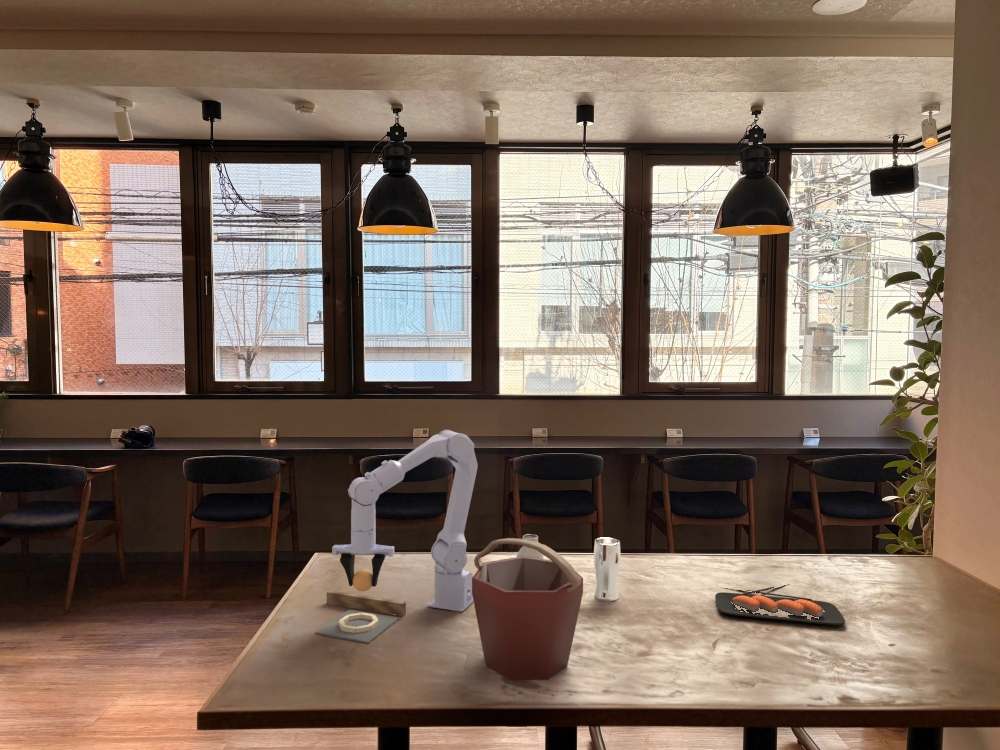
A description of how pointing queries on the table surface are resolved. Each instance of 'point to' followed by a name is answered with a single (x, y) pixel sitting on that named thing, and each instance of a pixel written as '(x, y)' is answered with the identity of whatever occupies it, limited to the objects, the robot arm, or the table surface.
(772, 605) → the sushi plate
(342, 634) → the cradle
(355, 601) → the fence
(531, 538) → the plastic bottle
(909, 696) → the table surface
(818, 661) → the table surface
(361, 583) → the ball
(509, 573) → the bucket
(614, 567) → the beer glass
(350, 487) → the robot arm
